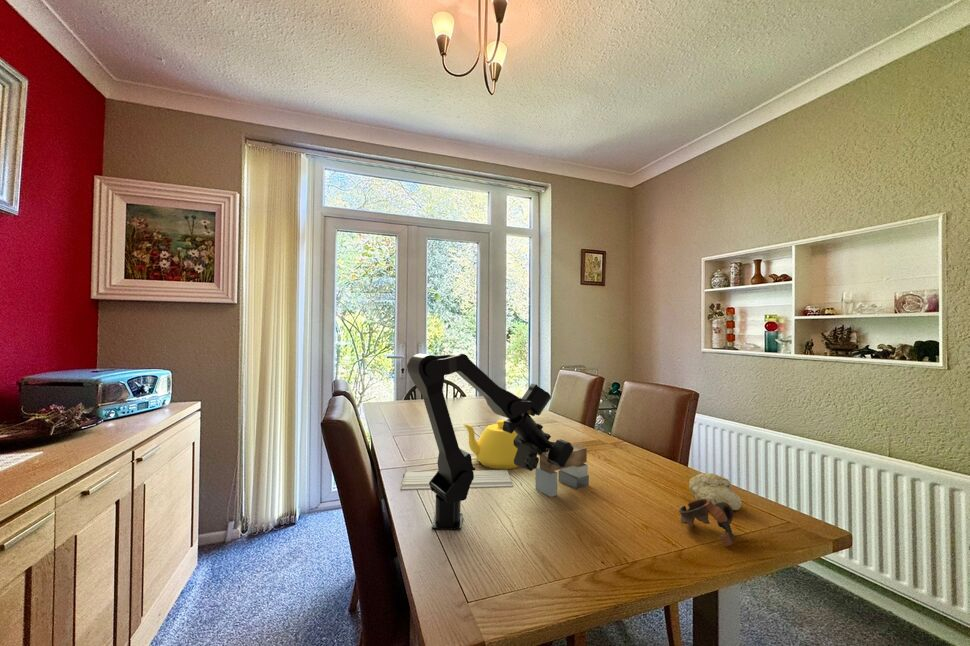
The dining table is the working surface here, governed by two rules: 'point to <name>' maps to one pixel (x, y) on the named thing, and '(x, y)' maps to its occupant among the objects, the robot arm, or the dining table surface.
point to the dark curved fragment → (704, 506)
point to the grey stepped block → (575, 476)
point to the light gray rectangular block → (546, 482)
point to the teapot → (494, 446)
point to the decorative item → (714, 489)
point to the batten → (575, 458)
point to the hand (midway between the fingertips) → (557, 463)
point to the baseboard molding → (480, 481)
